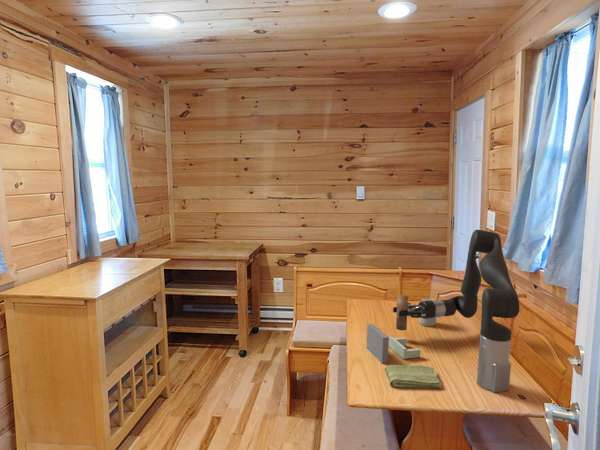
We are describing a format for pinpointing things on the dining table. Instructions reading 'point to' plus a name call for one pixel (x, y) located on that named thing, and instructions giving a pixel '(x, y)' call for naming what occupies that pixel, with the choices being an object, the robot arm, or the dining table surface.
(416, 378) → the washcloth
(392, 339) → the bracket
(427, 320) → the can
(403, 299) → the dowel
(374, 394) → the dining table surface
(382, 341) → the wall
